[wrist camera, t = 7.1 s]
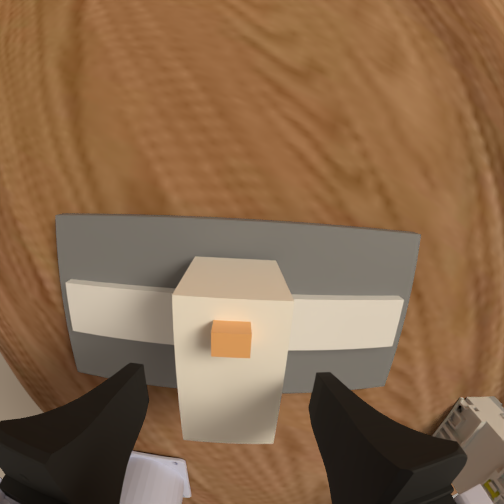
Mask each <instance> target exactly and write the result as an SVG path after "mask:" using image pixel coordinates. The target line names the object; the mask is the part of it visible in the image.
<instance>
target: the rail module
mask: <svg viewBox="0 0 504 504" xmlns="http://www.w3.org/2000/svg"><path fill="white" fill-rule="evenodd" d="M293 308H294V299H293V297H292V295H291V293H290V290H289V288H288V286H287V284H286V282H285V279H284V277H283V275H282V273H281V271H280V268H279V266H278V264H277V262H276V260H256V259H236V258H217V257H198V256H195V257H194V259H193V261H192V262H191V264H190V266H189V267H188V269H187V271H186V272H185V274H184V276H183V277H182V279H181V281H180V282H179V284H178V286H177V287H176V289H175V291H174V293H173V294H172V309H173V331H174V349H175V363H176V376H177V387H178V398H179V407H180V416H181V425H182V433H183V440H192V441H202V442H216V443H237V444H273V442H274V437H275V431H276V425H277V419H278V413H279V407H280V401H281V395H282V388H283V382H284V375H285V369H286V362H287V355H288V347H289V340H290V332H291V324H292V317H293Z"/></svg>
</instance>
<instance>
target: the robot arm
mask: <svg viewBox="0 0 504 504" xmlns="http://www.w3.org/2000/svg"><path fill="white" fill-rule="evenodd" d="M148 403H149V397H148V391H147V384H146V378H145V371H144V364H138V363H131V362H130V363H129V364H127V365H126V366H125V367H123V368H122V369H121V370H119V371H118V372H117V373H115V374H114V375H113V376H111V377H110V378H109V379H107V380H106V381H105V382H103V383H102V384H100V385H99V386H97V387H96V388H94V389H93V390H91V391H90V392H88V393H87V394H85V395H83V396H82V397H80V398H78V399H76V400H74V401H72V402H70V403H68V404H66V405H64V406H61V407H59V408H56V409H53V410H51V411H48V412H45V413H42V414H39V415H35V416H30V417H26V418H21V419H13V420H4V421H1V422H0V468H1V469H2V470H3V471H4V473H5V474H6V475H5V476H4V478H3V479H2V478H1V477H0V504H182V498H183V497H186V498H189V497H191V490H190V484H189V478H188V472H187V466H186V461H185V460H183V459H180V458H172V457H165V456H158V455H152V454H146V453H141V452H136V451H132V450H133V448H134V445H135V442H136V440H137V437H138V435H139V432H140V430H141V427H142V425H143V422H144V419H145V416H146V412H147V407H148ZM309 413H310V419H311V425H312V429H313V432H314V435H315V438H316V441H317V444H318V447H319V450H320V453H321V456H322V459H323V462H324V465H325V469H326V472H327V477H328V482H329V487H330V493H331V500H332V504H493V502H492V501H491V499H490V498H489V496H488V495H487V493H486V492H485V490H484V489H483V487H482V486H481V484H477V485H476V486H474V487H472V488H470V489H468V490H466V491H464V492H462V493H460V494H459V495H457V496H456V497H455V498H454V499H453V497H452V495H451V493H452V492H453V491H454V489H453V487H452V485H451V483H452V482H453V481H454V479H455V478H456V477H457V476H458V475H459V473H460V472H461V471H462V469H463V468H464V466H465V465H466V462H467V459H468V457H467V454H466V453H465V452H464V450H463V449H462V447H461V446H460V445H459V443H458V442H457V441H452V440H447V439H442V438H437V437H434V436H430V435H427V434H424V433H421V432H418V431H415V430H413V429H410V428H408V427H406V426H404V425H401V424H399V423H397V422H395V421H394V420H392V419H390V418H388V417H387V416H385V415H383V414H381V413H380V412H378V411H377V410H375V409H374V408H373V407H371V406H370V405H368V404H367V403H366V402H364V401H363V400H362V399H361V398H359V397H358V396H357V395H356V394H355V393H353V392H352V391H351V390H350V389H349V388H348V387H346V386H345V385H344V384H343V383H342V382H341V381H340V380H339V379H338V378H337V377H335V376H334V375H333V374H332V373H331V372H317V373H316V376H315V381H314V386H313V390H312V395H311V399H310V404H309Z"/></svg>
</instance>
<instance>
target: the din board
mask: <svg viewBox="0 0 504 504" xmlns="http://www.w3.org/2000/svg"><path fill="white" fill-rule="evenodd" d="M420 238H421V234H418V233H415V232H407V231H397V230H387V229H376V228H365V227H354V226H342V225H329V224H316V223H303V222H288V221H273V220H256V219H238V218H218V217H196V216H170V215H136V214H59V215H56V239H57V253H58V264H59V274H60V282H61V290H62V297H63V304H64V310H65V316H66V321H67V326H68V331H69V336H70V341H71V346H72V350H73V354H74V358H75V362H76V366H77V370H78V372H82V373H86V374H91V375H96V376H100V377H105V378H110V377H111V376H113V375H114V374H115V373H117V372H118V371H119V370H121V369H122V368H123V367H125V366H126V365H127V364H129V363H130V362H131V363H138V364H144V371H145V378H146V384H147V385H154V386H161V387H170V388H178V387H177V376H176V363H175V349H174V331H173V309H172V294H173V293H174V291H175V289H176V287H177V286H178V284H179V282H180V281H181V279H182V277H183V276H184V274H185V272H186V271H187V269H188V267H189V266H190V264H191V262H192V261H193V259H194V257H195V256H198V257H217V258H236V259H256V260H276V262H277V264H278V266H279V268H280V271H281V273H282V275H283V277H284V279H285V282H286V284H287V286H288V288H289V290H290V293H291V295H292V297H293V299H294V308H293V317H292V324H291V332H290V340H289V347H288V355H287V362H286V369H285V375H284V382H283V388H282V393H310V392H312V390H313V386H314V381H315V376H316V373H317V372H331V373H332V374H333V375H334V376H335V377H337V378H338V379H339V380H340V381H341V382H342V383H343V384H344V385H345V386H346V387H348V388H349V389H350V390H353V389H363V388H372V387H380V386H385V383H386V380H387V377H388V374H389V371H390V368H391V365H392V362H393V358H394V355H395V352H396V349H397V345H398V342H399V338H400V334H401V331H402V327H403V323H404V319H405V315H406V311H407V307H408V303H409V298H410V294H411V289H412V284H413V279H414V274H415V269H416V263H417V258H418V251H419V245H420Z"/></svg>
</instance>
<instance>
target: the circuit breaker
mask: <svg viewBox="0 0 504 504" xmlns="http://www.w3.org/2000/svg"><path fill="white" fill-rule="evenodd" d="M459 405H461V406H462V407H461V408H458V407H459ZM453 413H454V414H453ZM432 436H434V437H437V438H442V439H447V440H452V441H457V442H458V443H459V445H460V446H461V447H462V449H463V450H464V452H465V453H466V454H467V457H468V459H467V462H466V465H465V466H464V468H463V469H462V471H461V472H460V473H459V475H458V476H457V477H456V478H455V479H454V481H453V482H452V484H453V486H454V487H455V489H456V490H457V492H458V494H460V493H462V492H464V491H466V490H468V489H470V488H472V487H474V486H476V485H477V484H481V486H482V487H483V489H484V490H485V492H486V493H487V495H488V496H489V498H490V499H491V501H492V502H493V504H504V408H503V407H502V404H501V403H500V402H499V401H498V400H497V399H496V398H495V397H467V398H466V399H465V400H464V398H463V397H460V398H459V400H458V401H457V403H456V404H455V406H454V407H453V409H452V410H451V411H450V413H449V414H448V416H447V417H446V418H445V420H444V421H443V422H442V424H441V425H440V426H439V428H438V429H437V430H436V431H435V433H434V434H433V435H432Z"/></svg>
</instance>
